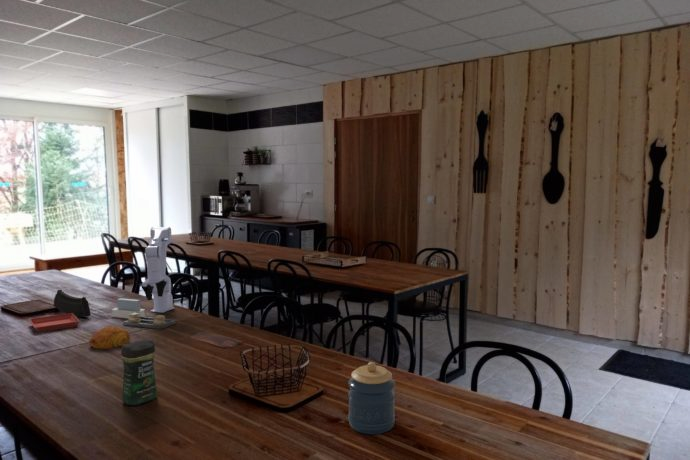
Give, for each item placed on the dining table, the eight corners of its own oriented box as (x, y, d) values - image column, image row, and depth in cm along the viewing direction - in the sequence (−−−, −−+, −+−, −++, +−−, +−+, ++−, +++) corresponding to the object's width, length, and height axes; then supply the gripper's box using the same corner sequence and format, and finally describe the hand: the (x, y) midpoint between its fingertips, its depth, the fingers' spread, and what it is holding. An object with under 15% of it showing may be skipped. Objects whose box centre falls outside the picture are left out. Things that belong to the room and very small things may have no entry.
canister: (341, 430, 134) (341, 367, 132) (357, 409, 146) (357, 351, 144) (387, 439, 129) (388, 374, 127) (400, 417, 141) (400, 357, 140)
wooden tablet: (186, 334, 214) (205, 326, 222) (186, 339, 215) (205, 331, 222) (225, 347, 198) (244, 338, 206) (226, 352, 199) (245, 343, 206)
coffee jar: (132, 409, 147) (129, 348, 145) (118, 401, 152) (115, 343, 150) (161, 397, 154) (159, 340, 152) (148, 391, 159) (145, 335, 157)
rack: (138, 319, 241) (138, 316, 241) (175, 323, 234) (175, 320, 234) (123, 324, 232) (123, 321, 232) (161, 329, 225) (161, 325, 225)
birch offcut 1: (158, 320, 231) (158, 315, 231) (164, 320, 230) (164, 315, 230) (154, 322, 227) (153, 317, 227) (160, 322, 227) (160, 317, 226)
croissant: (116, 341, 215) (114, 323, 215) (136, 343, 206) (134, 324, 206) (83, 349, 204) (81, 330, 204) (102, 352, 195) (100, 331, 195)
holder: (120, 313, 251) (119, 306, 251) (146, 316, 246) (145, 309, 246) (111, 316, 246) (110, 309, 245) (137, 319, 241) (137, 312, 240)
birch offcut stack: (133, 322, 236) (133, 312, 235) (140, 323, 234) (140, 313, 234) (128, 324, 232) (127, 314, 232) (135, 325, 231) (134, 315, 230)
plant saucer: (72, 318, 244) (72, 312, 243) (80, 327, 230) (79, 320, 229) (29, 325, 233) (29, 318, 232) (34, 334, 218) (34, 327, 218)
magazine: (92, 300, 242) (62, 276, 257) (86, 302, 239) (55, 277, 254) (89, 331, 246) (59, 306, 261) (82, 333, 244) (52, 307, 259)
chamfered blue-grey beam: (121, 313, 249) (120, 298, 248) (140, 315, 245) (139, 300, 244) (117, 314, 247) (117, 299, 246) (137, 317, 243) (136, 301, 242)
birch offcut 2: (158, 325, 231) (158, 320, 231) (165, 326, 230) (165, 321, 230) (153, 327, 228) (153, 322, 228) (160, 328, 227) (160, 323, 226)
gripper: (157, 267, 247) (158, 294, 249) (136, 272, 233) (137, 301, 235) (168, 268, 245) (169, 295, 246) (148, 273, 231) (149, 302, 233)
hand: (154, 298), depth 240 cm, fingers open, 7 cm apart
